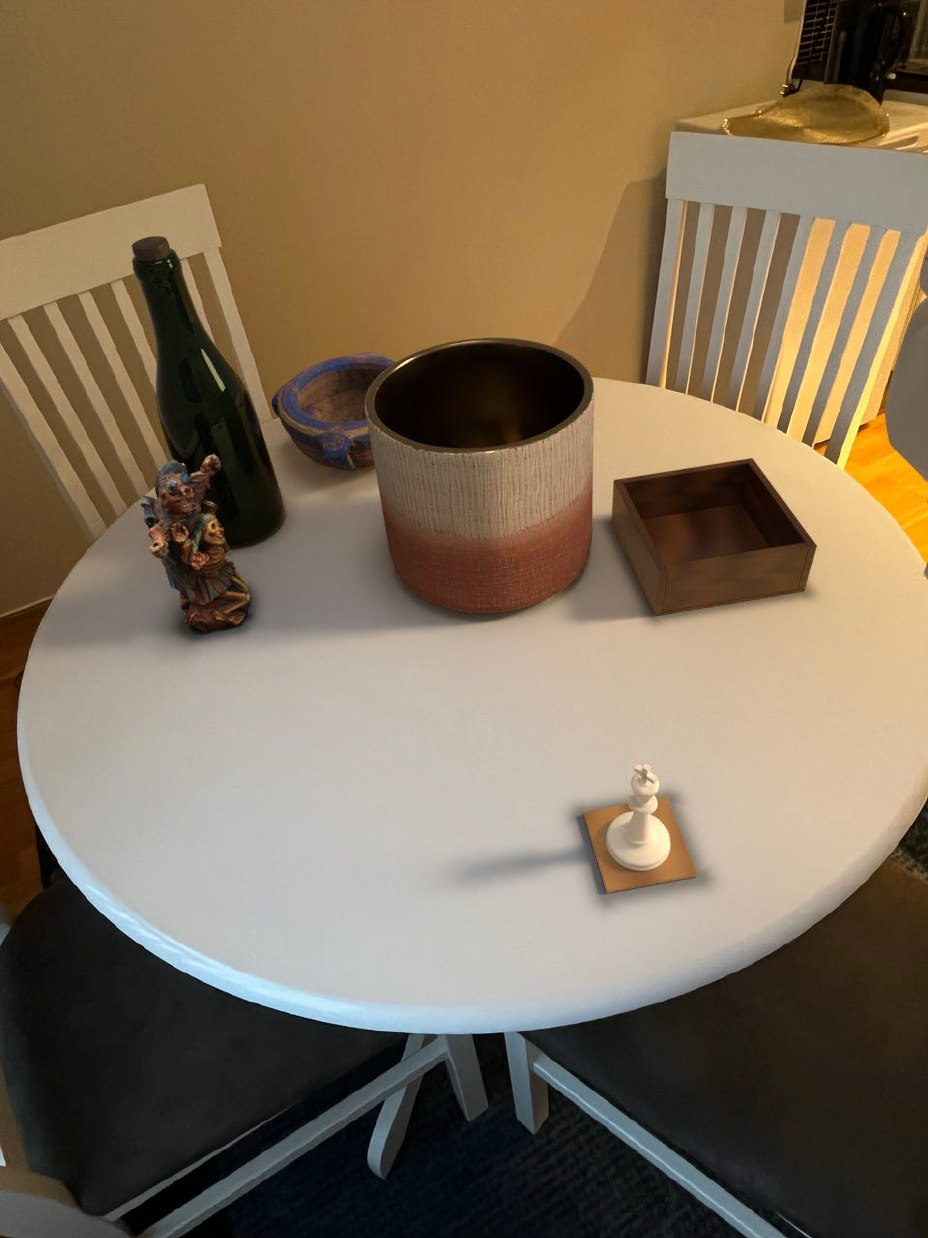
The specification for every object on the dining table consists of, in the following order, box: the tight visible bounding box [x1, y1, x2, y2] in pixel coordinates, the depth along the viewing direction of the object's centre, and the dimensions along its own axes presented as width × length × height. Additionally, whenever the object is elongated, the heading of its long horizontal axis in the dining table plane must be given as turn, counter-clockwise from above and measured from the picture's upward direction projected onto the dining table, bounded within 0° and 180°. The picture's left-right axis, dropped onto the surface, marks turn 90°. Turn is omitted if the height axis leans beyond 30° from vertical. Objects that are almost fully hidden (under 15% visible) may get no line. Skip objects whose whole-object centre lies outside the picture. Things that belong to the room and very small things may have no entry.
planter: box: [365, 337, 595, 614], centre depth 85 cm, size 22×22×20 cm
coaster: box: [582, 796, 698, 894], centre depth 65 cm, size 7×7×1 cm
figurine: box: [140, 454, 253, 635], centre depth 82 cm, size 11×9×18 cm
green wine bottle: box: [131, 235, 286, 547], centre depth 89 cm, size 10×10×33 cm
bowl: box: [271, 351, 398, 472], centre depth 105 cm, size 18×18×10 cm
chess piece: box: [606, 763, 670, 871], centre depth 62 cm, size 5×5×10 cm
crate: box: [610, 457, 818, 617], centre depth 87 cm, size 16×16×6 cm
